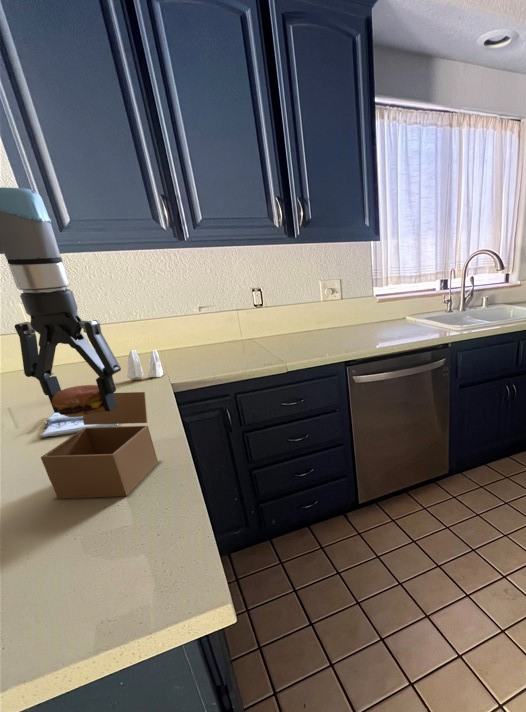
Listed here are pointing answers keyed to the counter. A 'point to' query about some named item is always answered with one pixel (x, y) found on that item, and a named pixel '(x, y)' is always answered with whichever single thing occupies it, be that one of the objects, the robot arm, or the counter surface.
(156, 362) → the shaker set
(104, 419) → the flap
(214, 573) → the counter surface
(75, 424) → the snack bag
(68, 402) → the burger
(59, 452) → the carton
